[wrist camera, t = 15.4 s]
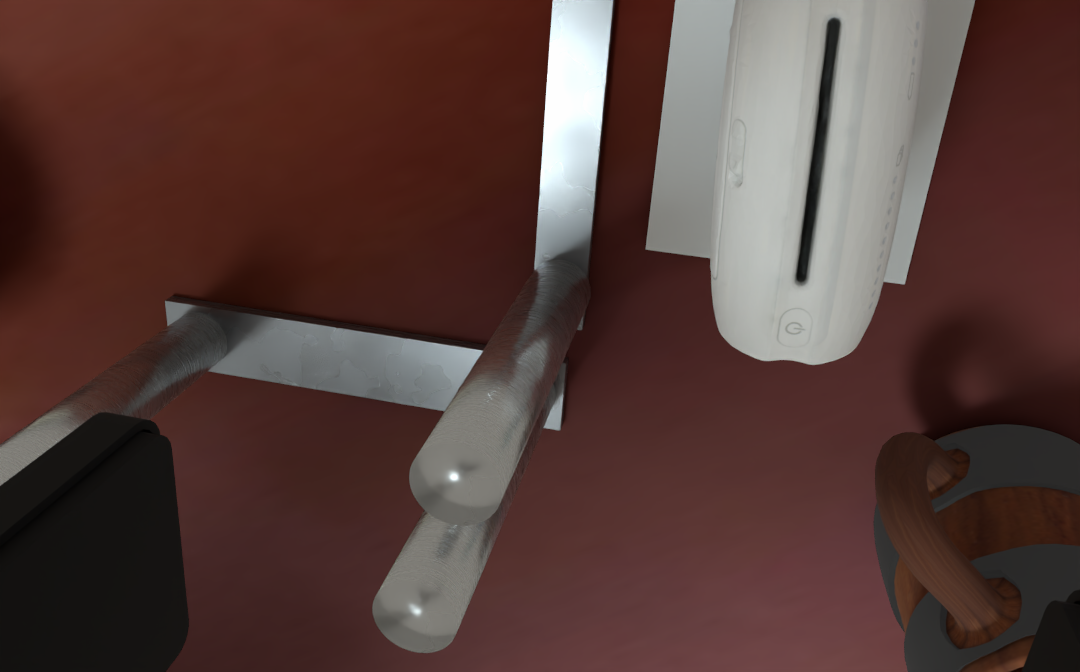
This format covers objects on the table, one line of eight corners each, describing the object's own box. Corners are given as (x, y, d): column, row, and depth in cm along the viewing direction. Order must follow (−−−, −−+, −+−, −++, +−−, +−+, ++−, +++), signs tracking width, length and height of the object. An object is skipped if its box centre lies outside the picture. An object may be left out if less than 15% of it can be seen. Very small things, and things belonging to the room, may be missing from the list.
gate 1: (562, 423, 38) (466, 671, 26) (179, 359, 41) (-74, 555, 29) (569, 357, 37) (469, 584, 25) (172, 295, 40) (-96, 472, 28)
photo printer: (844, 239, 33) (884, 410, 22) (717, 230, 33) (693, 390, 22) (893, -89, 28) (974, -85, 17) (746, -91, 29) (735, -88, 18)
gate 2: (590, 325, 36) (499, 543, 24) (528, 315, 37) (408, 526, 24) (650, -292, 28) (558, -451, 16) (570, -296, 28) (418, -453, 16)
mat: (903, 280, 33) (904, 284, 33) (646, 246, 35) (645, 249, 34) (1005, -135, 28) (1008, -136, 27) (695, -155, 29) (694, -156, 29)
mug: (968, 299, 33) (1062, 481, 23) (1167, 534, 35) (1337, 801, 24) (769, 430, 37) (770, 639, 26) (958, 637, 39) (1030, 907, 28)
